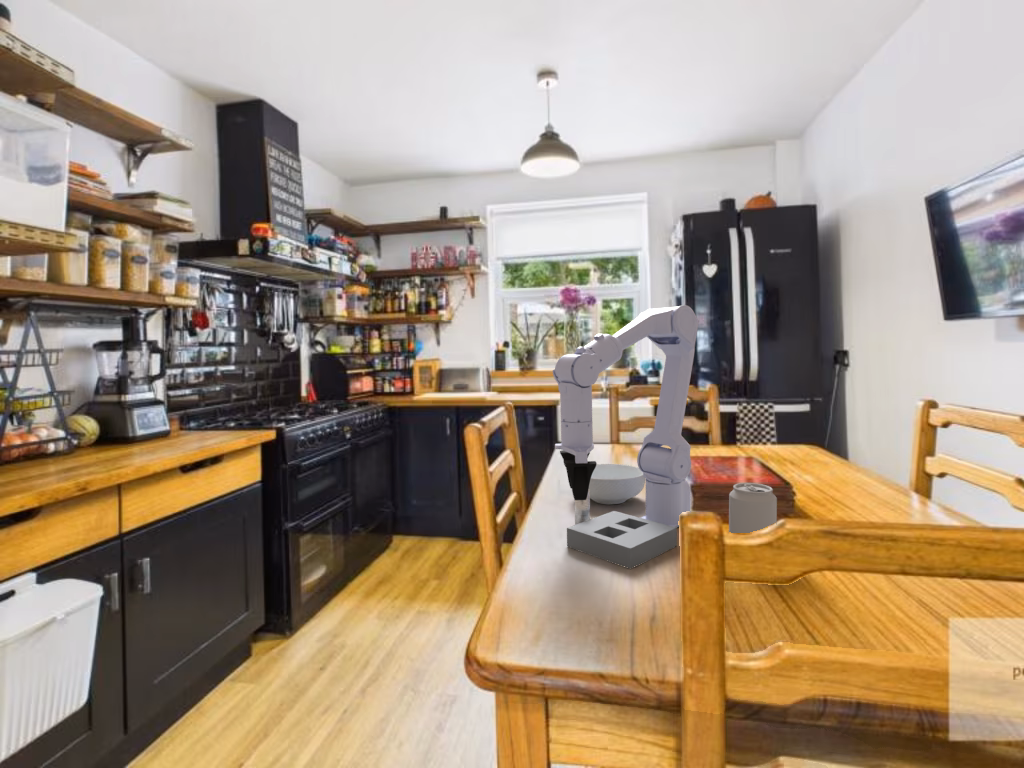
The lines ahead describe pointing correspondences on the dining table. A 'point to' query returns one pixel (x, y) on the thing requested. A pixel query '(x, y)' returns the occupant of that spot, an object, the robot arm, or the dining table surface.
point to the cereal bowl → (615, 483)
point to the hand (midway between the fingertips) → (577, 493)
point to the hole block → (622, 538)
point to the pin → (582, 509)
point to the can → (751, 507)
